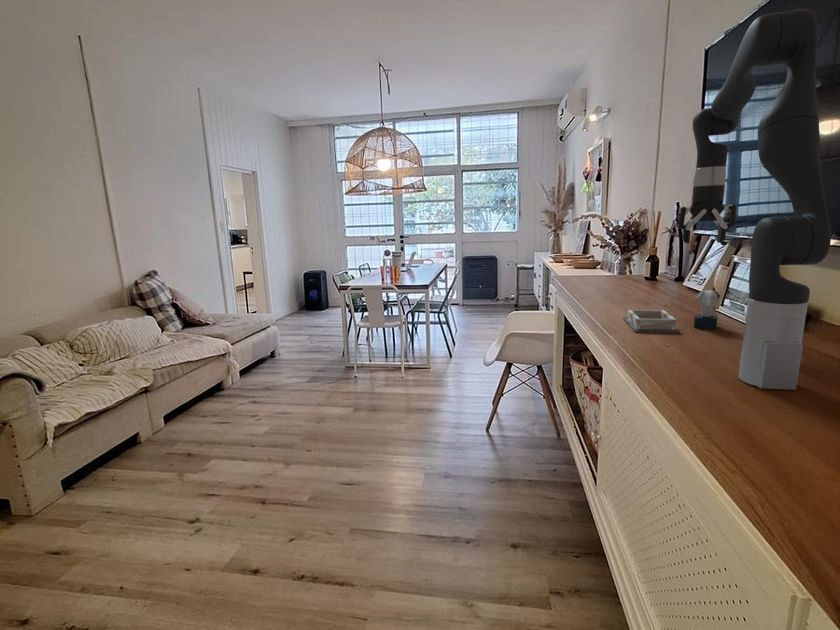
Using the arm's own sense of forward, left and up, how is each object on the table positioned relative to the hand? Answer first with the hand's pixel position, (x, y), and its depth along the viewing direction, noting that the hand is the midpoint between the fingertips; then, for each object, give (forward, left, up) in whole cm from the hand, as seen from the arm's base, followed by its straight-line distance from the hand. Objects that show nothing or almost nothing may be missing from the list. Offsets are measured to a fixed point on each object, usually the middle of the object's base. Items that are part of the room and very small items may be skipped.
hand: (703, 242), depth 126 cm
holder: (0, +12, -25) cm, 28 cm away
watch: (0, -3, -25) cm, 25 cm away
